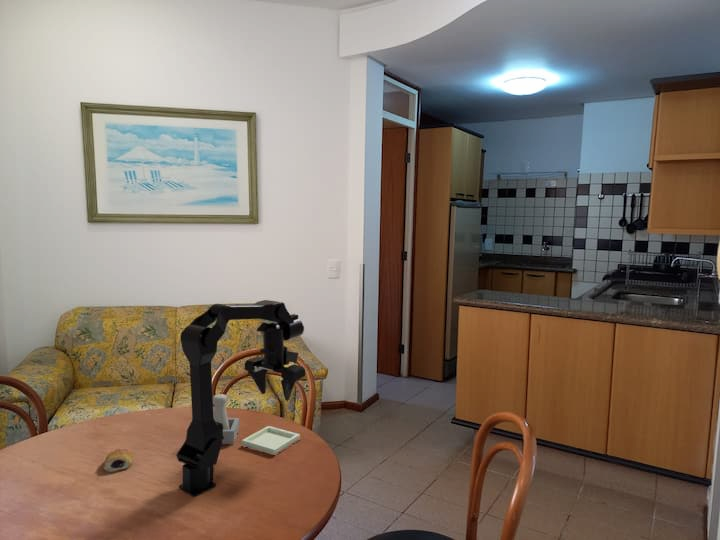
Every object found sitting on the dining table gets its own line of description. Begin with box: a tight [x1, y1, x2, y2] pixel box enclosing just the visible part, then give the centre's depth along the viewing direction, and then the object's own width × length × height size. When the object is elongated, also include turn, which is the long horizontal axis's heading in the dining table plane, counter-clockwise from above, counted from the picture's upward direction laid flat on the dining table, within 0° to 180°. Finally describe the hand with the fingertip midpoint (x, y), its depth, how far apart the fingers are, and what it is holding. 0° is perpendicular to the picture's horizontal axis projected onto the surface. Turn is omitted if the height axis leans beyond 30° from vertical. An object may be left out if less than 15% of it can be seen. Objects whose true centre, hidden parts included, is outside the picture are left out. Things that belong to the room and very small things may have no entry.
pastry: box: [103, 448, 134, 473], centre depth 130 cm, size 9×7×4 cm
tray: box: [241, 425, 301, 455], centre depth 143 cm, size 12×12×2 cm
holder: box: [222, 417, 240, 445], centre depth 146 cm, size 10×10×4 cm
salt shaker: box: [213, 393, 230, 430], centre depth 146 cm, size 6×6×13 cm
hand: (275, 397), depth 140 cm, fingers open, 9 cm apart
